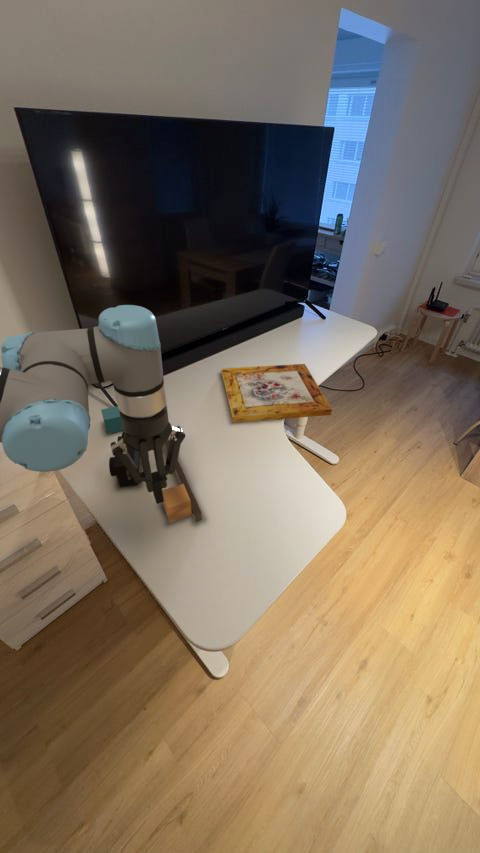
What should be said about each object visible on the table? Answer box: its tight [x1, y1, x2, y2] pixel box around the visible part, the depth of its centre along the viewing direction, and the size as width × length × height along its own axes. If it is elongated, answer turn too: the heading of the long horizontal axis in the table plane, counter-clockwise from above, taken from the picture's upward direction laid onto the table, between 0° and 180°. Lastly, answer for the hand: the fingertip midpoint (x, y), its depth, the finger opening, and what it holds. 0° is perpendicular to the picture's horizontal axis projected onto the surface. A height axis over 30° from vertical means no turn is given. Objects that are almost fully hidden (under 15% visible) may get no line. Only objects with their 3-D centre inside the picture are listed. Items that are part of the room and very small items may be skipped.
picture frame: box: [220, 363, 333, 424], centre depth 110 cm, size 27×2×30 cm
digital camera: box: [108, 435, 141, 488], centre depth 81 cm, size 10×5×7 cm, turn 10°
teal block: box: [100, 405, 123, 435], centre depth 94 cm, size 5×5×5 cm
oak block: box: [162, 484, 193, 523], centre depth 74 cm, size 5×5×5 cm
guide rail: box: [163, 438, 203, 523], centre depth 87 cm, size 2×42×2 cm, turn 25°
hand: (158, 498), depth 70 cm, fingers closed
